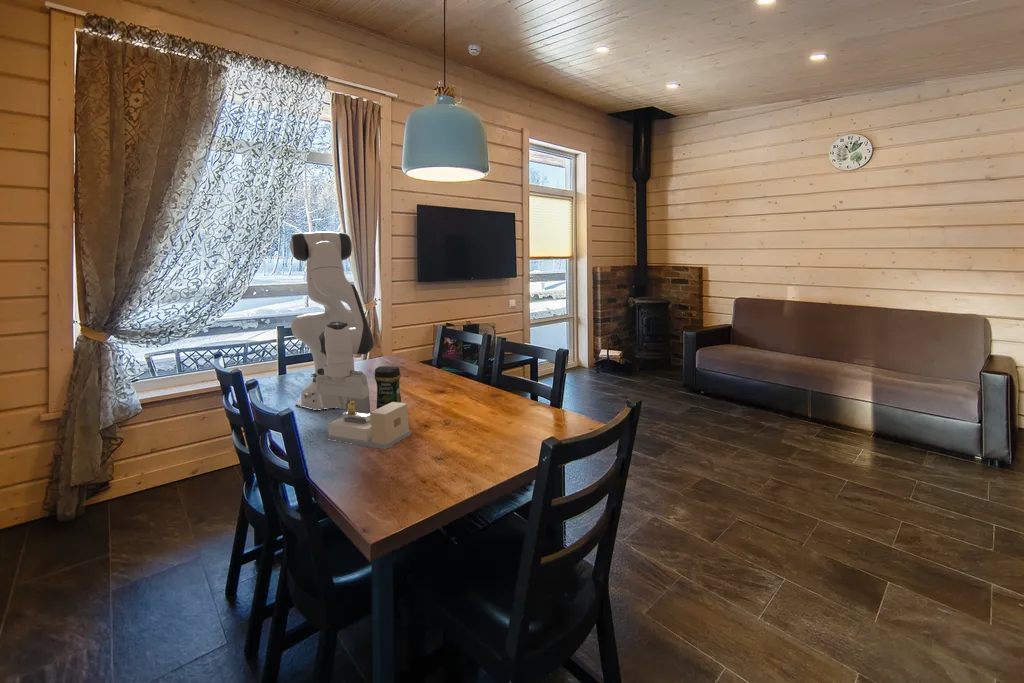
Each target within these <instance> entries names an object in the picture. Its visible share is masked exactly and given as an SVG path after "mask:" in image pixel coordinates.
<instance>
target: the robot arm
mask: <svg viewBox="0 0 1024 683" xmlns="http://www.w3.org/2000/svg"><path fill="white" fill-rule="evenodd" d="M289 251H290V253H291V254H292V256H293V258H294V259H295V260H296V261H300V262H306V283H307V284H306V285H307V293H308V294H307V295H308V297H309V299H310V300H311V301H312V302H314V303H317V304H318V305H321V306H323V307H324V311H322V312H321V311H319V312H308V313H303V314H299V315H297V316H295V317H294V318H293V319H292V321H291V327H290V328H291V333H292V335H293V336H294V337H295V339H297V340H299V341H300V342H302V343H303V345H304V344H305V346H307V348H308V350H309V351H310V353H311V355H312V359H313V365H314V373H310V378H312V381H311V382H309V384H308V385H307V386H306V387H304V388H302V391H301V394H300V396H301V397H300V400H298V401H297V402H295V405H296V404H297V405H301V406H305V407H309V408H312V409H316V410H318V409H324V408H335V407H339V409H342V410H348V403H347V402H350V400H351V398H356V399H364V398H366V397H368V395H369V396H370V388H369V384H368V380H367V375H366V374H365V373H364V372H363V371H360V370H358V371H357V370H356V369H355V358H354V356H353V355H367V354H369V352H371V351H372V350H373V349H374V346H375V339H374V335H373V333H372V331H371V327H370V325H369V323H368V320H367V316H366V313H365V310H364V307H363V304H362V301H361V299H360V298H361V297H360V295H359V293H358V291H357V288H356V286H355V284H353V283H350V282H349V280H348V279H347V277H346V275H345V271H344V265H343V261H345V260H347V259H349V258H350V257H351V256H352V253H353V252H352V251H353V242H352V239H351V238H350V236H349V234H348V233H346V232H342V231H341V232H340V231H338V232H334V231H326V230H325V231H322V230H321V231H310V232H302V231H301V232H297V233H293V235H292V236H291V239H290V242H289ZM343 303H345V304H347V306H348V307H349V309H350V310H349V309H348V308H346V306H345V305H344V304H343ZM335 409H336V408H335Z"/></svg>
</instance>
